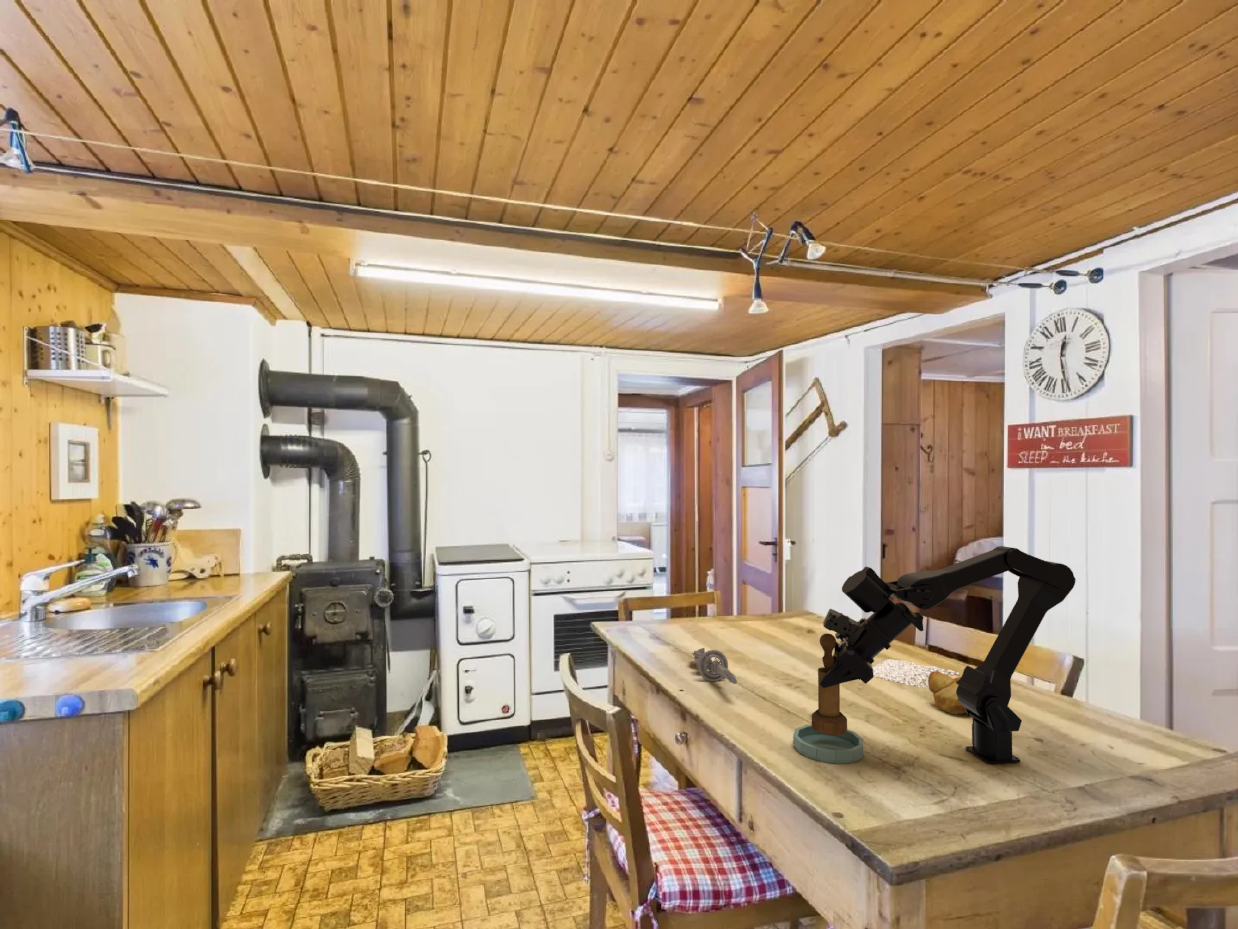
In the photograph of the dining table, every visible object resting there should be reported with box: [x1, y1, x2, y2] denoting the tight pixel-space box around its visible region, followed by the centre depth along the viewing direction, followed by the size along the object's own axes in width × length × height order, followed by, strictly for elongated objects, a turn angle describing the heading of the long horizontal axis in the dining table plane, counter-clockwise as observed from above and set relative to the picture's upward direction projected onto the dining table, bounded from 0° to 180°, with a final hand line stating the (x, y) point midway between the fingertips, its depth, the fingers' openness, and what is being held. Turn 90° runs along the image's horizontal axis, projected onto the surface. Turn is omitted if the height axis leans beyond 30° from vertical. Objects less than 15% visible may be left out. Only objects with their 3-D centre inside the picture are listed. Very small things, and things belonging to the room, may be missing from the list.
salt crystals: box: [872, 658, 960, 690], centre depth 165 cm, size 20×20×2 cm
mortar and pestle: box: [811, 633, 848, 735], centre depth 119 cm, size 7×6×18 cm
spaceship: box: [691, 647, 738, 685], centre depth 159 cm, size 8×35×8 cm
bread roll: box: [927, 671, 967, 715], centre depth 140 cm, size 13×10×8 cm
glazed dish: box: [792, 724, 865, 765], centre depth 119 cm, size 13×13×2 cm
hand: (821, 682), depth 119 cm, fingers closed on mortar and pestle, 4 cm apart
